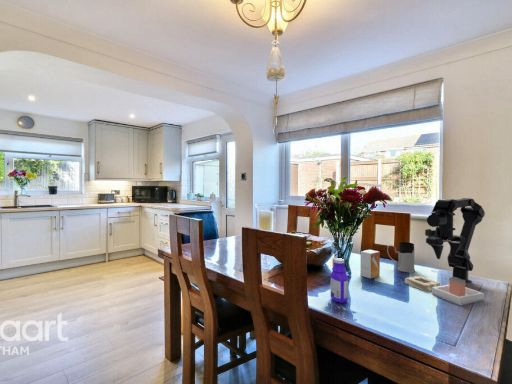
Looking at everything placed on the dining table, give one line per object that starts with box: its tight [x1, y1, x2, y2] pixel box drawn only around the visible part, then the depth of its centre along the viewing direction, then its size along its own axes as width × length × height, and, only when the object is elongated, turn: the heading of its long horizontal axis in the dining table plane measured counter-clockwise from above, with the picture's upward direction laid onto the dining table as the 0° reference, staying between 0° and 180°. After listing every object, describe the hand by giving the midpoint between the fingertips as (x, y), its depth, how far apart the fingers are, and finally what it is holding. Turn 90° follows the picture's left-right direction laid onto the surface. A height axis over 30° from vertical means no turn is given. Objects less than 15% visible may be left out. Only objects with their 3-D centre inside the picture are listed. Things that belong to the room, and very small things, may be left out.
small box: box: [359, 249, 381, 279], centre depth 145 cm, size 8×6×13 cm
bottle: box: [330, 257, 349, 304], centre depth 115 cm, size 7×6×17 cm
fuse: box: [448, 276, 466, 297], centre depth 117 cm, size 3×5×7 cm
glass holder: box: [386, 241, 416, 273], centre depth 156 cm, size 9×14×15 cm, turn 71°
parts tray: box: [431, 284, 485, 306], centre depth 117 cm, size 14×12×3 cm
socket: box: [404, 275, 442, 292], centre depth 130 cm, size 9×11×2 cm
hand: (445, 258), depth 131 cm, fingers open, 9 cm apart
